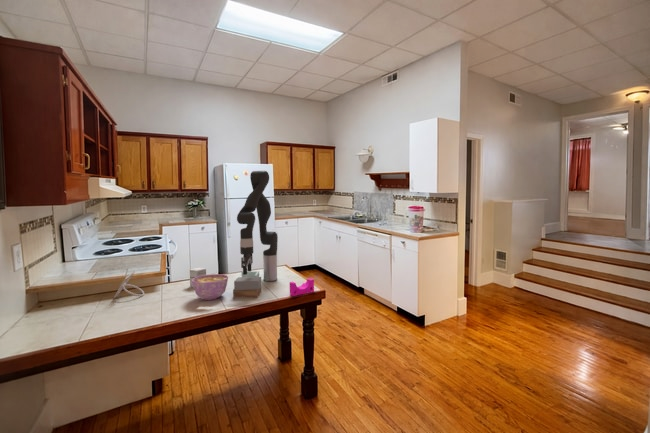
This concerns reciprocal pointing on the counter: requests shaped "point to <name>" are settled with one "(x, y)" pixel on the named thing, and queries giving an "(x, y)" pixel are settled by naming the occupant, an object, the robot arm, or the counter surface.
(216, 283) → the bowl of food
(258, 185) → the robot arm
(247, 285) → the tower top
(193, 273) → the supplement box
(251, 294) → the tower bottom
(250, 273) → the right angle wall
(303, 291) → the toy block
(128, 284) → the wire frame
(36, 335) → the counter surface
